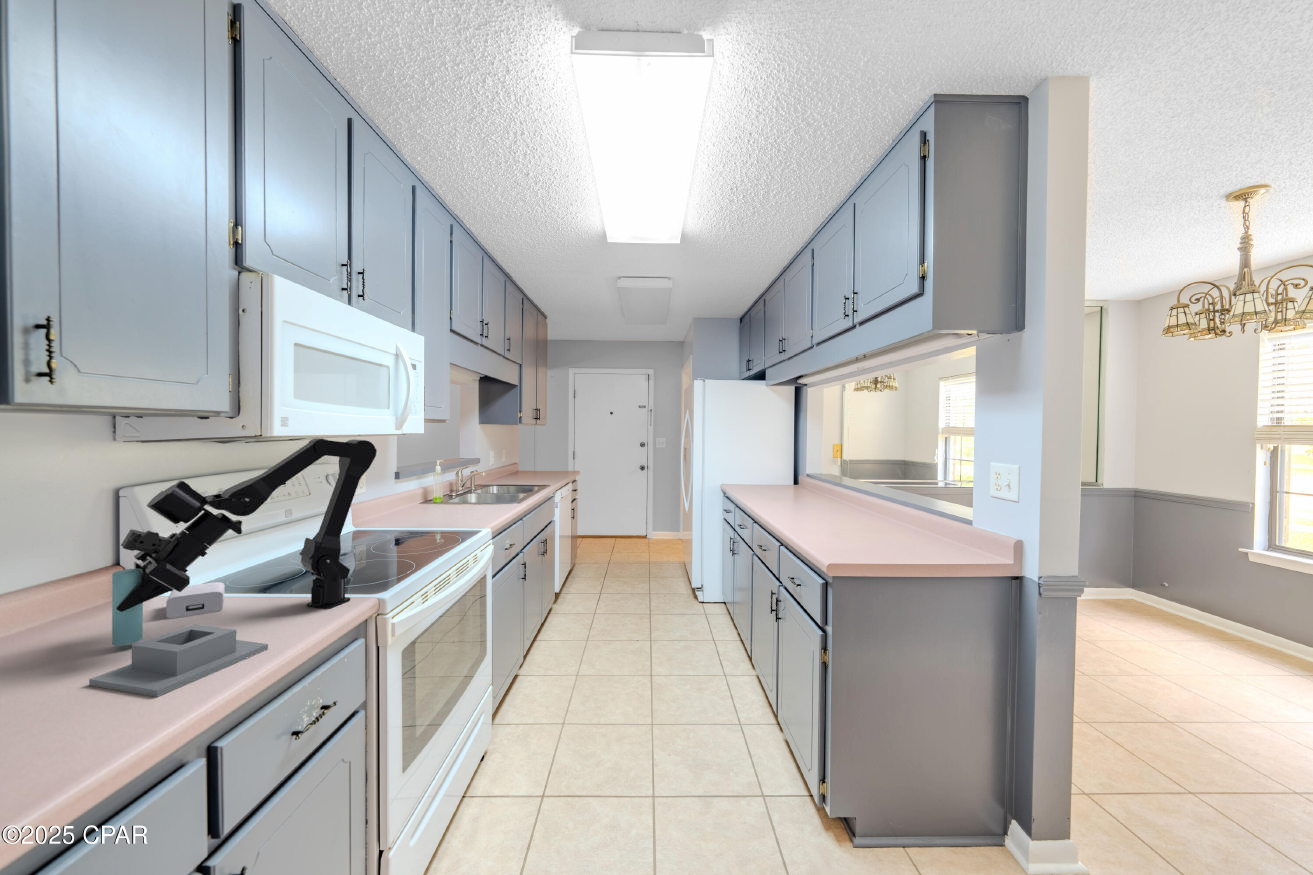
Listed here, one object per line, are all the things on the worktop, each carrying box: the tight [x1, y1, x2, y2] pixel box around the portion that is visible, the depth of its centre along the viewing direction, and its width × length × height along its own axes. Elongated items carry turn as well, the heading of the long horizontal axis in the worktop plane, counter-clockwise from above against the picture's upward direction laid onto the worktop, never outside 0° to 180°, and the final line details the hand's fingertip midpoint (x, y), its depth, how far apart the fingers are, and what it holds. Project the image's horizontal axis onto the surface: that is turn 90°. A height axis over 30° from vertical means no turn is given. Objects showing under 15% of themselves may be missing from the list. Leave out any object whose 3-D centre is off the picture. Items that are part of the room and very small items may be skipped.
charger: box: [165, 581, 226, 620], centre depth 120 cm, size 5×9×15 cm
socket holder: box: [88, 623, 269, 698], centre depth 90 cm, size 18×14×5 cm
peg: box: [111, 568, 144, 646], centre depth 97 cm, size 4×4×13 cm
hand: (117, 607), depth 96 cm, fingers closed on peg, 4 cm apart
